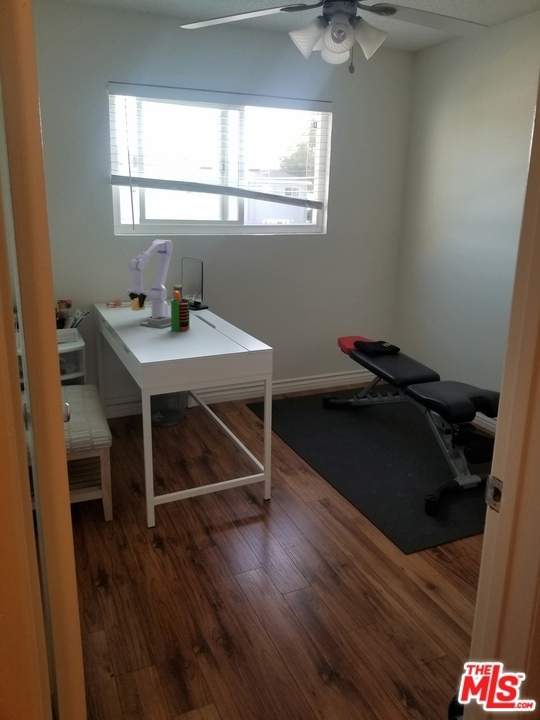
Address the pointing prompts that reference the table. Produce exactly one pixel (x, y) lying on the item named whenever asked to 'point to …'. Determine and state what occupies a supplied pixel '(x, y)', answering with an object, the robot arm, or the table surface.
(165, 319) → the chassis plate
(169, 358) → the table surface
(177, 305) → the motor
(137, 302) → the yellow block
